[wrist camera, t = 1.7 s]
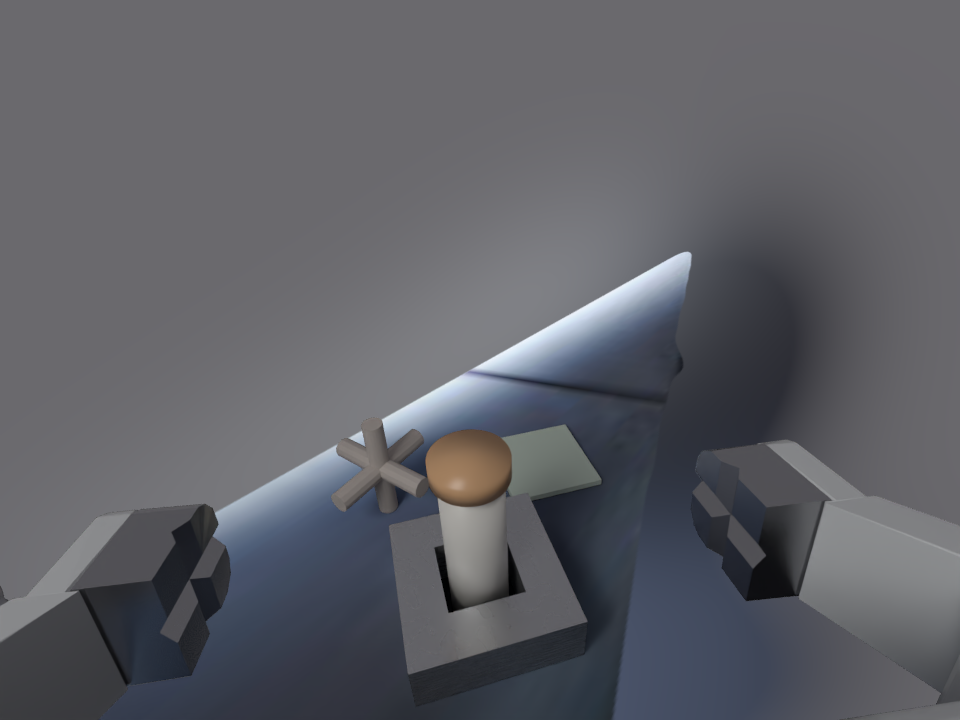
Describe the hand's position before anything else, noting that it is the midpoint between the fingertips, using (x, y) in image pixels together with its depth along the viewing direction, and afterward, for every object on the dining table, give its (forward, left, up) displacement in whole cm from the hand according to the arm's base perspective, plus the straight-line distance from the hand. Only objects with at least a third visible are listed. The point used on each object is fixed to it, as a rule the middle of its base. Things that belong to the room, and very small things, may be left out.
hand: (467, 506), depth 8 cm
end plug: (+3, +17, -30) cm, 35 cm away
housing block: (+3, +17, -30) cm, 35 cm away
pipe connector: (-3, +29, -30) cm, 42 cm away
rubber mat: (+13, +30, -30) cm, 45 cm away
